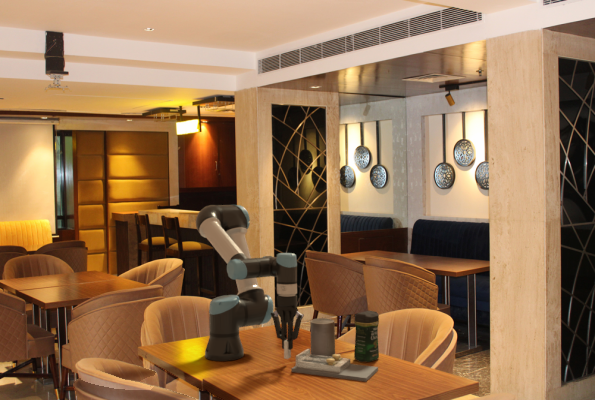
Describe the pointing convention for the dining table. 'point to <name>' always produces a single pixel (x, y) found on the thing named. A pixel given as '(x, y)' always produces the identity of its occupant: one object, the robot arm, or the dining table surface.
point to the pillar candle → (322, 337)
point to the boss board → (349, 373)
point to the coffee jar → (366, 336)
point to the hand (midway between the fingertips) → (287, 357)
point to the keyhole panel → (320, 362)
